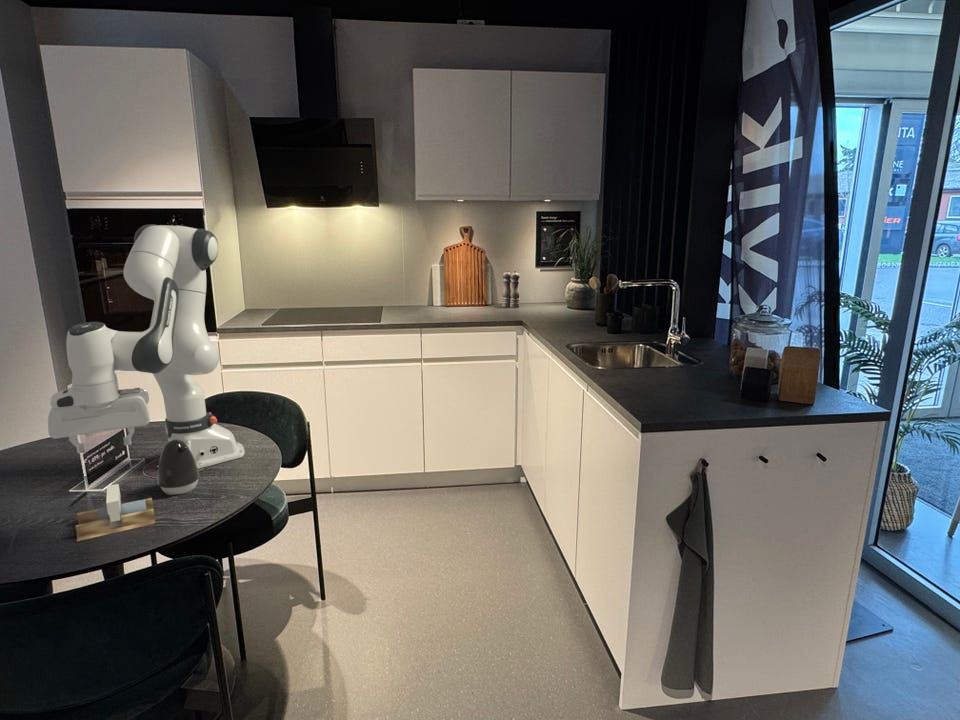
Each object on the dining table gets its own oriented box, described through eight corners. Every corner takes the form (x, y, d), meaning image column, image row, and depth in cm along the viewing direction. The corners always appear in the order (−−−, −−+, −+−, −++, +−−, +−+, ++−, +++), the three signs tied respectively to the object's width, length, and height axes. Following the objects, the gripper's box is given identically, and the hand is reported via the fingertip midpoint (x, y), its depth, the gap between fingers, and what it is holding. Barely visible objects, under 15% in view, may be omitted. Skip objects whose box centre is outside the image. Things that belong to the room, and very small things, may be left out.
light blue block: (146, 511, 149) (144, 496, 149) (147, 517, 146) (145, 503, 145) (100, 521, 144) (98, 506, 144) (100, 528, 141) (97, 513, 140)
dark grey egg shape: (174, 503, 155) (166, 450, 152) (152, 494, 161) (144, 442, 157) (209, 489, 164) (203, 438, 160) (187, 480, 169) (180, 430, 166)
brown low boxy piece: (153, 506, 154) (150, 487, 152) (155, 526, 144) (152, 506, 142) (40, 531, 142) (36, 510, 140) (34, 554, 132) (30, 532, 130)
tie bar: (121, 502, 149) (118, 483, 148) (121, 519, 140) (118, 500, 139) (109, 504, 148) (106, 486, 146) (109, 522, 139) (106, 503, 138)
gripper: (146, 383, 145) (153, 436, 148) (45, 395, 134) (54, 451, 138) (147, 389, 139) (155, 444, 142) (41, 402, 129) (52, 461, 132)
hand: (105, 448), depth 140 cm, fingers open, 8 cm apart
